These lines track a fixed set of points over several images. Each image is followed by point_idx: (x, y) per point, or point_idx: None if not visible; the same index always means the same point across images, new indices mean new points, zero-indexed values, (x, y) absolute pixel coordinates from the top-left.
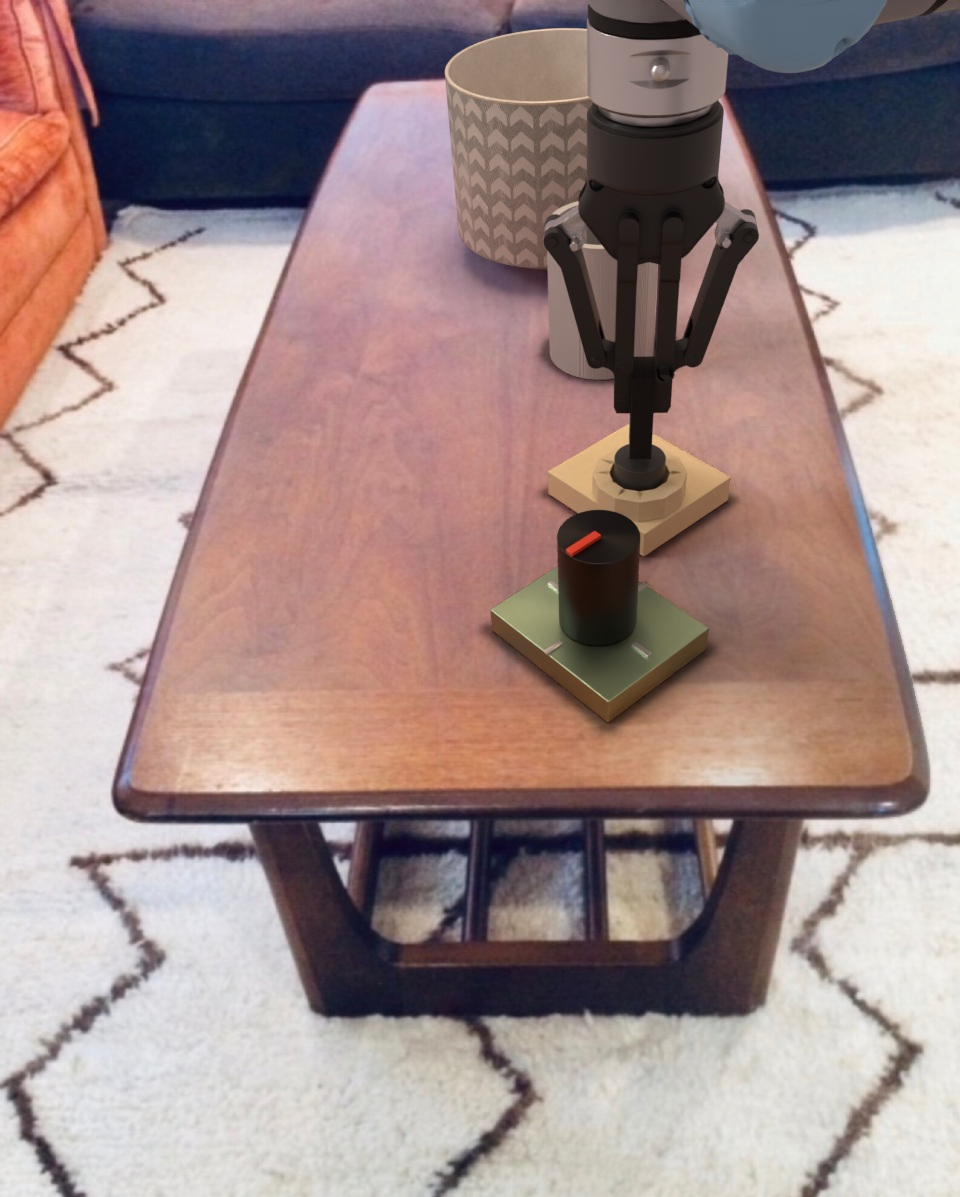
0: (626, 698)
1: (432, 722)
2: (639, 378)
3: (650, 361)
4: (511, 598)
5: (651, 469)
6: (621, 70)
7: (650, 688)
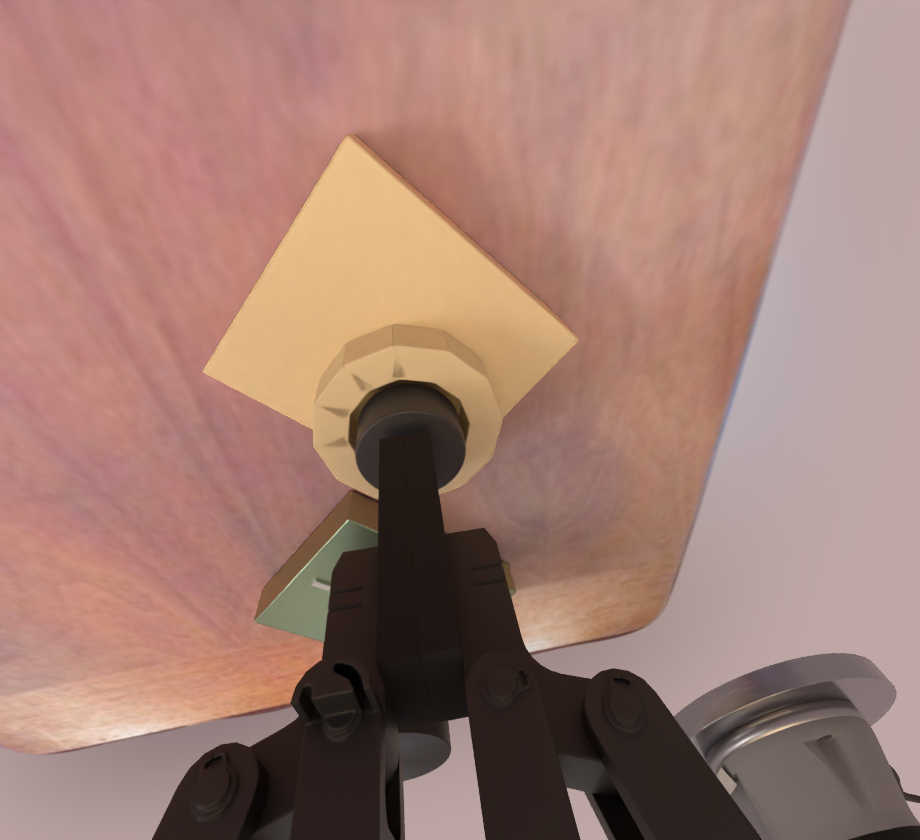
0: None
1: (254, 670)
2: (422, 724)
3: (449, 665)
4: (273, 607)
5: (439, 485)
6: None
7: None
